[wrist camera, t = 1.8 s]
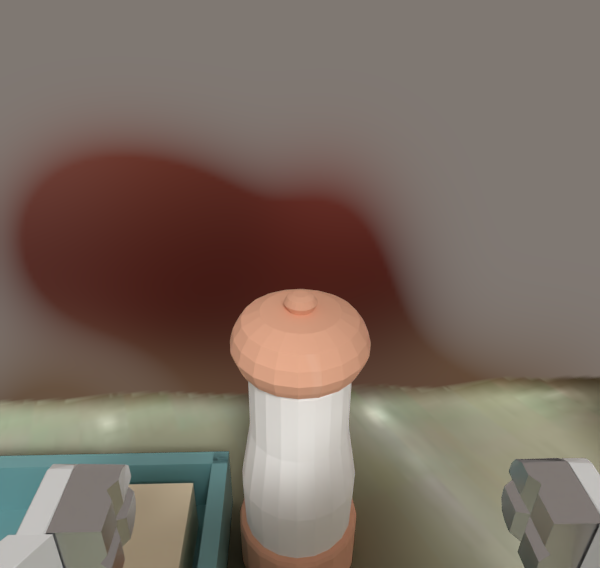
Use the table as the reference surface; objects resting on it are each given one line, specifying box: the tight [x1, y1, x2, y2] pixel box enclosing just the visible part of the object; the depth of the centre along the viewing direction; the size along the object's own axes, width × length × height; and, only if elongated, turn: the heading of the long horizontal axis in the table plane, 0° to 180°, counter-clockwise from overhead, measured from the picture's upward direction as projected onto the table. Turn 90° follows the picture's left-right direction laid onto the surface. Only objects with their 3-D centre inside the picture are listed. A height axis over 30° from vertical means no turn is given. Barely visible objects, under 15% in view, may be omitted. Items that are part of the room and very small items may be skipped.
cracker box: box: [123, 483, 199, 568], centre depth 30 cm, size 5×8×4 cm, turn 2°
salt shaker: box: [230, 289, 371, 568], centre depth 30 cm, size 7×7×19 cm
